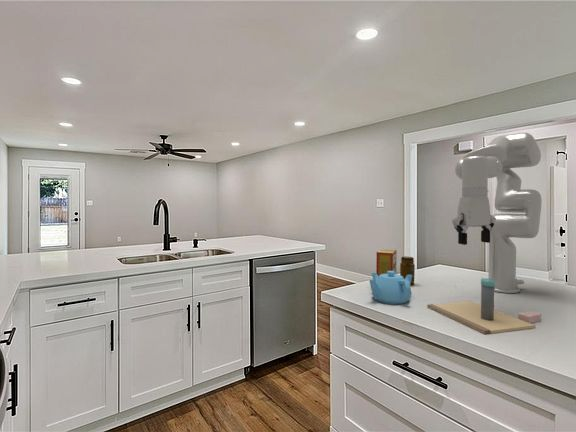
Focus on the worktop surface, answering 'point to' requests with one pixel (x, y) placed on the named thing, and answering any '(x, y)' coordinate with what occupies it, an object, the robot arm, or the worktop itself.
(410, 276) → the teapot
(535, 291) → the worktop surface
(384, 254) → the baking soda box
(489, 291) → the marker
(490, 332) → the notepad
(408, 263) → the condiment
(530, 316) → the eraser
